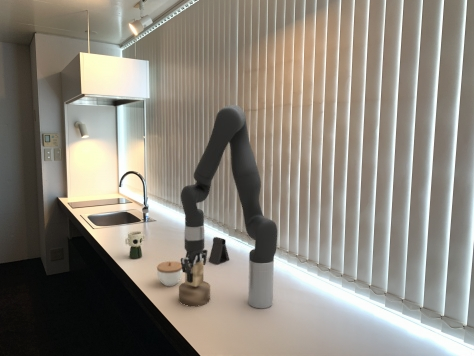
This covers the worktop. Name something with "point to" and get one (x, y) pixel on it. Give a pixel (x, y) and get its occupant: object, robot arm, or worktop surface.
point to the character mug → (135, 243)
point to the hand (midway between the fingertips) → (194, 279)
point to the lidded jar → (169, 272)
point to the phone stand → (218, 251)
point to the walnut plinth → (194, 294)
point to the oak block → (196, 274)
